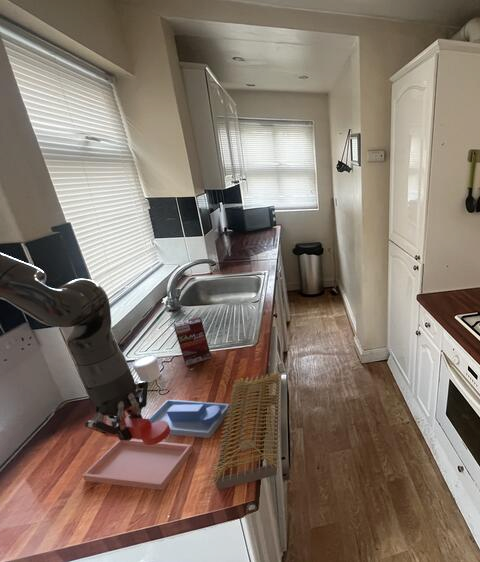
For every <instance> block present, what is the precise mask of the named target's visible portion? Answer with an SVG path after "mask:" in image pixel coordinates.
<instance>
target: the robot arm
mask: <svg viewBox="0 0 480 562" xmlns="http://www.w3.org/2000/svg"><path fill="white" fill-rule="evenodd" d="M46 282H47V274H46V273H45V271H43V270H42V269H41V268H39V267H37V266H34V265H32V264H30V263H27V262H24V261H22V260H19V259H17V258H14V257H12V256H9V255H7V254H4V253H2V252H0V300H3V301H6V302H8V303H9V304H11V305H12V306H13V307H15V308H17V309H18V310H20V311H22V312H23V313H25V315H28V316H29V317H31V318H33V319H35V321H38V322H39V323H41V324H44V325H45V326H46V325H47V326H51V327H55V328H71V327H72V330H70V332H69V334H68V335H67V336H66V339H65V346H66V348H67V350H68V353H69V354H70V357H71V360H72V361H73V363H74V365H75V368H76V372H77V375H78V377H79V378H80V379H79V380H80V381H81V382H82V385H83V387H84V389H85V391H86V393H87V396H88V397H89V399H90V400H91V402H92V403H93V404H94V405H95V406H94V407H95V408H94V412H95V414H94V416H93V417H92V419H91V420H87V421H86V422H85V423H84V426H85V428H88V429H90V430H93V431H96V432H97V433H101V434H103V435H105V434H112V435H115V434H117V436H118V437H117V438H118V440H123V441H130V440H131V439H133V438H132V435H131V433H130V431H129V429H128V426H126V423H125V418H126V417H127V416H126V414H127V415H128V417H129V418H143V416H142V409H143V408H145V407H147V404H148V390H149V382H147V381H141V380H136V381H135V379H134V376H133V373H132V371H131V369H130V366H129V364H128V362H127V359H126V357H125V354H124V353H123V352H122V350H121V349H120V347H119V344H118V342H117V339H116V337H115V334H114V332H113V328H112V315H111V314H112V313H111V304H110V300H109V297H108V294H107V293H106V291H105V289H104V288H103V287H102V286H101V285H100V284H99V283H97V282H95V281H94V280H91V279H87V278H77V279H74V280H70V281H69V282H66V283H64V284H63V285H60V286H59V287H57V288H52V287H50V286H47V285H46ZM104 416H105V417H106V419H107V420H108V421H109V422H110V425H111V426H110V425H108V424H105V422H106V421H105V418H104Z"/></svg>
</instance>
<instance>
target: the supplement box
mask: <svg viewBox="0 0 480 562" xmlns="http://www.w3.org/2000/svg"><path fill="white" fill-rule="evenodd" d="M173 327H174V332H175V335H176V338H177V339H176V340H177V342H178V346H179V348H180V352H181V355H182V358H183V362H184V364H185V366H186V367H187V366H190V365H194V364H197V363H201V362H202V361H203V362H204V361H206V360H209V359H210V360H211V359H212V355H211V350H210V347H209V344H208V338H207V335H206V331H205V327H204V324H203V320H202V316H198V317H194V318H190V319H186V320H182V321H178V322H174V323H173Z"/></svg>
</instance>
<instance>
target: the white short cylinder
mask: <svg viewBox="0 0 480 562" xmlns="http://www.w3.org/2000/svg"><path fill="white" fill-rule="evenodd" d="M131 365H132V367H133V369H134V371H135V373H136V374H137V376H138V378H139V381H147V382H148V383H152V382H154V381H156V380H158V379H159V378H160V377H161V369H160V365H159V359H158V356H157V355H156V354H146V355H143V356H140V357H139V358H137V359H136V360H134V361H133V362H132V364H131Z"/></svg>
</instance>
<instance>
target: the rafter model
mask: <svg viewBox="0 0 480 562" xmlns="http://www.w3.org/2000/svg"><path fill="white" fill-rule="evenodd" d="M280 384H281V370H279V371H275V372H273V373H271V374H270V375H269V374H268V375H263V374H261V376H259V377H258V375H257V376H256V377H254V376H252V377H251V378H249V377H248V376H247V377H246V379H244V378H243V377H242V378H241V380H239V379H233V384H232V387H231V388H232V389H231V392H230V395H229V397H230V398H229V400H230V401H228V404H230V405H228V406H231V407H230V408H228V409H230V411H228V412H226V413H228V414H227V416H225V418H226V419H224V420H223V422H225V423H223V427H222V428H221V429H222V430H223V429H225V430H223V431H221V434H223V435H221V436H220V438H223V439H220V440H219V443H221V442H222V443H221V444H218V445H217V447H221V448H219V449H217V450H216V451H217V452H220V453H219V454H218V453H217V454H216V455H215V456H216V457H218V458H216V459H215V460H214V462H217V461H218V462H217V463H215V464H214V465H213V467H216V468H215V469H212V472H211V475H214V474H215V475H214V476H212V477H211V478H210V481H211V482H210V483H209V486H211V485H212V484H213V483H214V485H216V488H217V491H221V490H224V489H228V488H232V487H235V486H236V487H237V486H239V485H244V484H247V483H252V482H255V481H256V482H257V481H260V480H262V479H267V478H270V477H274V476H278V468H279V466H278V464H279V461H278V458H279V455H280V454H279V453H278V451H280V449H279V448H278V447H279V446H280V444H279V443H278V442H280V439H279V438H280V436H279V433H280V431H279V429H280V427H279V425H280V423H279V421H280V419H279V417H280V415H279V414H280V413H281V411H280V410H281V408H280V406H281V404H280V402H281V401H280V399H281V398H280V396H281V394H280V393H281V391H280ZM256 395H257V396H256ZM228 409H227V410H228ZM266 409H267V410H266ZM236 415H238V416H236ZM236 419H237V420H236ZM265 420H267V421H265ZM235 423H236V424H235ZM265 424H267V425H266V426H265ZM224 425H226V426H224ZM234 427H235V428H234ZM265 429H266V430H265ZM234 431H235V432H234ZM264 433H265V434H264ZM258 434H259V435H258ZM261 434H262V435H261ZM233 436H234V437H233ZM264 437H265V438H264ZM260 438H262V439H260ZM272 439H273V440H272ZM232 440H233V441H232ZM257 443H259V444H257ZM261 443H262V444H261ZM230 445H232V446H230ZM263 446H264V447H263ZM265 446H266V447H265ZM237 447H238V448H237ZM230 450H231V451H230ZM246 450H251V451H246ZM240 451H241V452H240ZM244 451H245V452H244ZM261 451H264V452H261ZM255 452H256V453H255ZM230 454H231V455H230ZM247 455H250V456H247ZM240 456H241V457H240ZM244 456H245V457H244ZM234 459H235V460H234ZM261 460H265V465H263V466H261ZM257 461H258V467H257V468H254V462H257ZM249 463H251V469H247V464H249ZM241 465H244V471H240V466H241ZM235 466H237V472H235V473H233V469H234V467H235ZM229 468H230V471H229V474H228V475H225V474H226V470H228V469H229Z"/></svg>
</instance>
